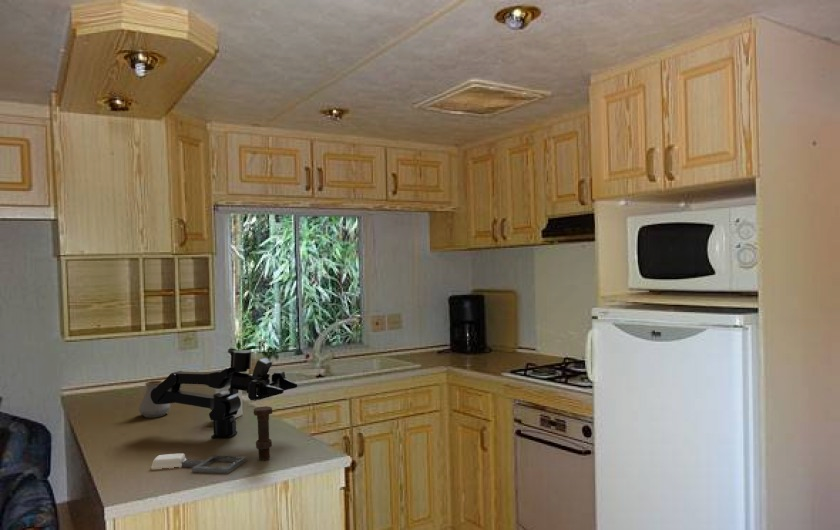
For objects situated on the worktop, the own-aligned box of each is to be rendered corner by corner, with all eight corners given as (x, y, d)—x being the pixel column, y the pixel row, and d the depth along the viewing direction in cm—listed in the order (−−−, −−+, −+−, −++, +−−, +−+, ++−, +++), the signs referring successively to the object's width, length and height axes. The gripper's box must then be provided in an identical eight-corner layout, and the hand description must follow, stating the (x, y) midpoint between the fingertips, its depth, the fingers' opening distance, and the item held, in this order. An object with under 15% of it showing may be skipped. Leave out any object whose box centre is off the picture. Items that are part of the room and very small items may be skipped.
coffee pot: (132, 419, 233) (131, 379, 233) (149, 411, 245) (148, 374, 245) (185, 419, 231) (184, 379, 231) (199, 411, 242) (198, 373, 242)
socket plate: (174, 471, 170) (173, 467, 170) (195, 459, 181) (195, 455, 181) (228, 473, 167) (228, 469, 167) (246, 460, 178) (246, 456, 178)
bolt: (267, 455, 183) (265, 405, 183) (277, 458, 180) (276, 407, 180) (250, 460, 179) (249, 409, 179) (261, 463, 176) (259, 411, 175)
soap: (188, 461, 181) (187, 451, 181) (182, 468, 174) (182, 458, 174) (156, 463, 179) (156, 453, 179) (149, 471, 173) (149, 460, 173)
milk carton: (242, 415, 234) (241, 365, 234) (232, 419, 227) (230, 369, 227) (226, 414, 236) (225, 365, 236) (215, 419, 229) (214, 368, 229)
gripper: (233, 363, 194) (277, 369, 190) (264, 354, 212) (305, 359, 208) (231, 397, 194) (275, 404, 190) (262, 386, 212) (303, 391, 208)
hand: (290, 388), depth 199 cm, fingers open, 9 cm apart
